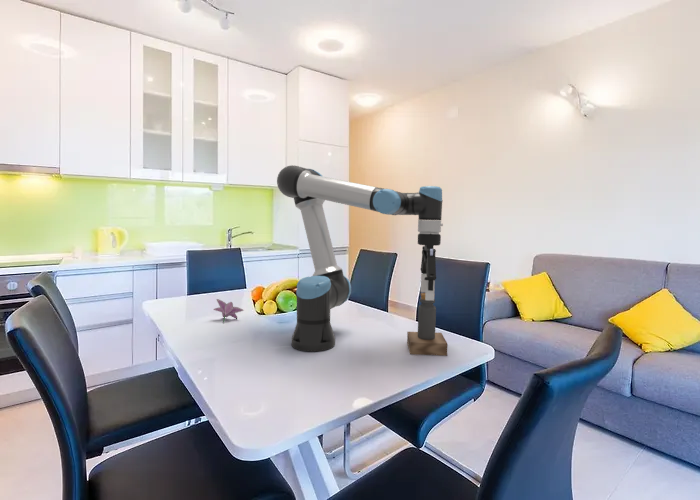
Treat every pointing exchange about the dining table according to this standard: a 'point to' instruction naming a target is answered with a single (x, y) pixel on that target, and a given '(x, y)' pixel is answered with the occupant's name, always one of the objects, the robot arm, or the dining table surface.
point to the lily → (227, 309)
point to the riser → (426, 345)
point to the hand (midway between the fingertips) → (426, 296)
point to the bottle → (426, 318)
